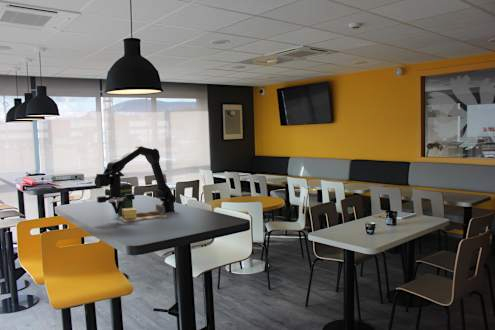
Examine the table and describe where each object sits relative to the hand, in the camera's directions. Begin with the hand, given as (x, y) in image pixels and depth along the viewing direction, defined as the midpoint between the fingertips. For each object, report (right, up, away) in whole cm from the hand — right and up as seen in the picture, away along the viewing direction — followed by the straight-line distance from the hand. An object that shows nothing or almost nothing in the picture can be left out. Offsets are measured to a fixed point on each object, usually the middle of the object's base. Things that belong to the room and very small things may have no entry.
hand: (116, 213), depth 214 cm
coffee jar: (-2, -3, +21) cm, 21 cm away
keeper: (+6, -2, +3) cm, 7 cm away
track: (+12, -3, +7) cm, 15 cm away
